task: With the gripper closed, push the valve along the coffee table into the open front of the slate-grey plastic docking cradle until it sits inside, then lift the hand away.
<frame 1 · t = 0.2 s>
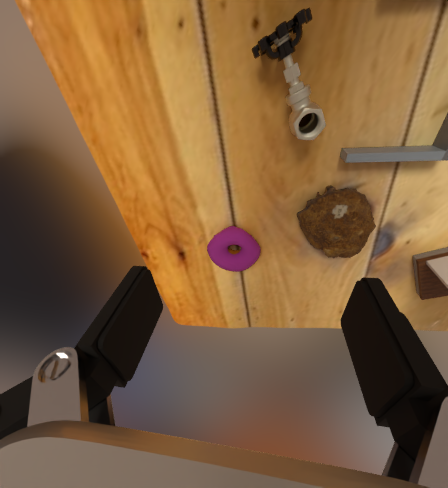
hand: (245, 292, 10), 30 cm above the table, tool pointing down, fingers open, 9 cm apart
decorative rock: (334, 220, 41), on the table
dock cradle: (410, 78, 27), on the table
donut: (234, 243, 47), on the table
valve: (293, 87, 29), on the table
banded square pillar: (447, 267, 43), on the table
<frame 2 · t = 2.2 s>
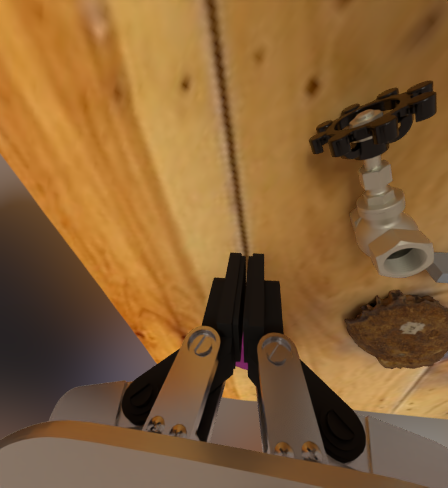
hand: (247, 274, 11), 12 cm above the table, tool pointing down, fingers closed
decorative rock: (394, 322, 30), on the table
valve: (361, 177, 19), on the table
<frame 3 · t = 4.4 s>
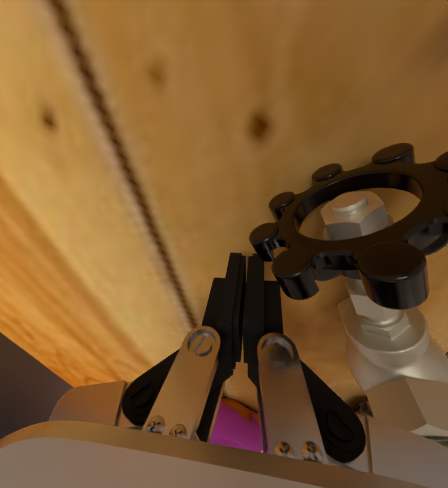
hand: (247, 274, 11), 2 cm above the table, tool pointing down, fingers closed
donut: (225, 406, 29), on the table
valve: (353, 261, 12), on the table, touching gripper
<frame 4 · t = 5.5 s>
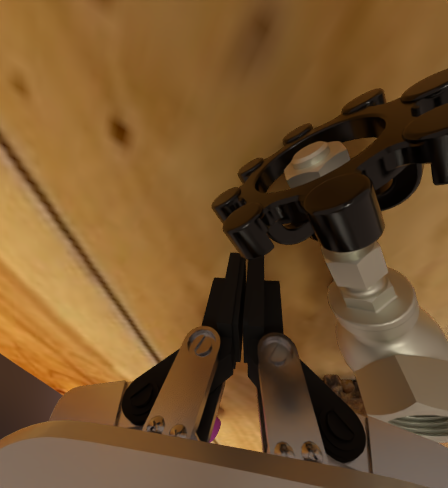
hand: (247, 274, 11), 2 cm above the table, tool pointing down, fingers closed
decorative rock: (343, 401, 24), on the table
valve: (339, 237, 11), on the table
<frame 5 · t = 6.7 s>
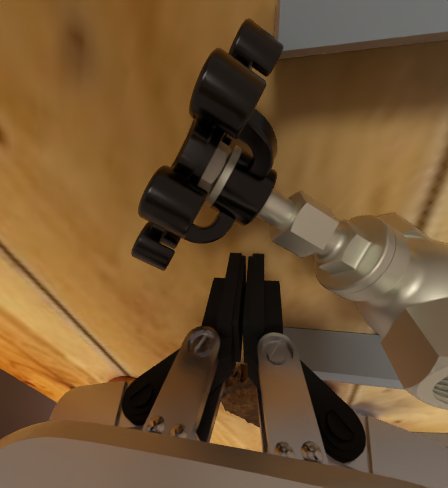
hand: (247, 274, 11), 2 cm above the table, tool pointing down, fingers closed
decorative rock: (281, 387, 25), on the table
dock cradle: (382, 247, 11), on the table
valve: (316, 205, 10), on the table, touching dock cradle, gripper
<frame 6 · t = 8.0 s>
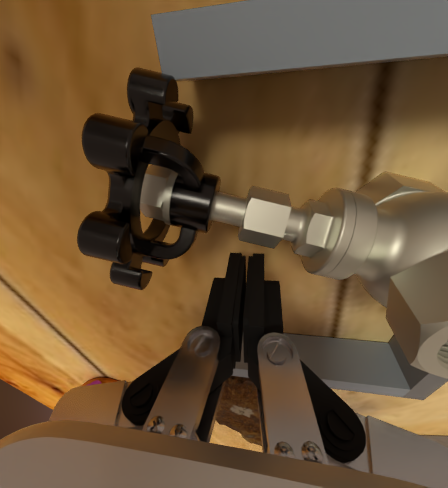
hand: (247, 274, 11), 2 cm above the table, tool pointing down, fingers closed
decorative rock: (255, 389, 25), on the table
dock cradle: (322, 253, 12), on the table
valve: (298, 188, 10), on the table
banded square pillar: (432, 448, 27), on the table
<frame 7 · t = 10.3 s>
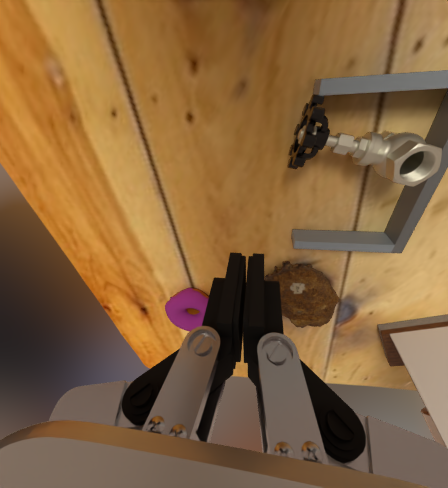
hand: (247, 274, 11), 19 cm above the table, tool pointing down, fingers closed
decorative rock: (299, 289, 39), on the table
dock cradle: (353, 173, 26), on the table
donut: (195, 301, 45), on the table
valve: (347, 140, 24), on the table
banded square pillar: (413, 336, 41), on the table
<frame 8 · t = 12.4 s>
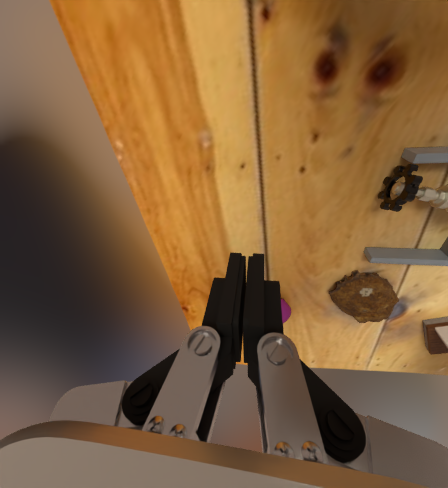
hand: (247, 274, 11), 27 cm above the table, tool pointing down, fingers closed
decorative rock: (361, 292, 48), on the table
dock cradle: (422, 208, 34), on the table
donut: (267, 302, 54), on the table
valve: (422, 186, 33), on the table
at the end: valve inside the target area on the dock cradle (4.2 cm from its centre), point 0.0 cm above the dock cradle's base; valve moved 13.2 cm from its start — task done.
